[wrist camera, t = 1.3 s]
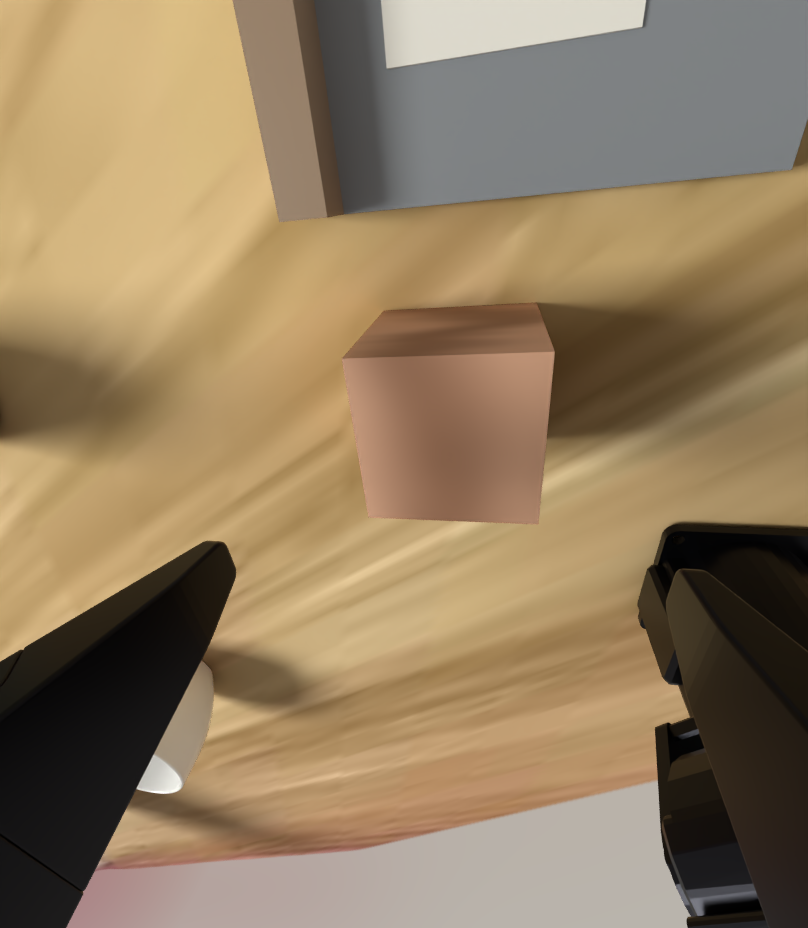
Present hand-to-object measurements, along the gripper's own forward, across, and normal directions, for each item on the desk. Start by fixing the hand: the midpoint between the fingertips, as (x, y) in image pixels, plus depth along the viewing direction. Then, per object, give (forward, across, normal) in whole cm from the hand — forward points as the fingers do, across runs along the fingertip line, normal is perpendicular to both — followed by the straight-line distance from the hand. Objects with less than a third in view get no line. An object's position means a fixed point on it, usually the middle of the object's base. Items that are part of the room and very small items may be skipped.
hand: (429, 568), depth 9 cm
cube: (+10, 0, 0) cm, 10 cm away
